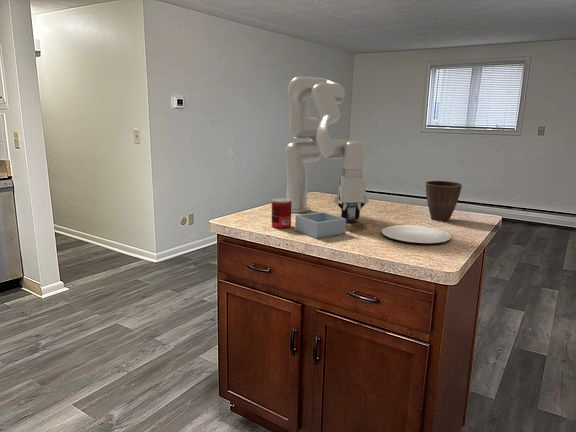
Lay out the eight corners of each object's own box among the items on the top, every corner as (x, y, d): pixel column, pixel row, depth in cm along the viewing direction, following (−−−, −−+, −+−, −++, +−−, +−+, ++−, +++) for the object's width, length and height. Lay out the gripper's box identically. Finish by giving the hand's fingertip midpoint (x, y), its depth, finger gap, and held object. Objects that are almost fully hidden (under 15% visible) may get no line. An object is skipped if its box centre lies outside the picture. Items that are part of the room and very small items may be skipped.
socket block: (334, 226, 179) (334, 220, 178) (351, 224, 183) (351, 218, 183) (348, 231, 171) (349, 225, 171) (366, 228, 176) (366, 222, 175)
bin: (295, 230, 171) (295, 215, 170) (323, 226, 178) (323, 211, 177) (316, 239, 160) (316, 222, 159) (345, 234, 167) (346, 218, 166)
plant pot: (458, 224, 186) (462, 187, 182) (421, 221, 190) (424, 184, 187) (457, 217, 200) (461, 182, 196) (423, 214, 204) (426, 180, 201)
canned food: (293, 225, 180) (294, 198, 177) (287, 229, 172) (287, 202, 170) (275, 223, 182) (276, 197, 180) (268, 227, 175) (268, 200, 172)
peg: (345, 228, 174) (346, 203, 172) (341, 225, 179) (342, 201, 177) (358, 228, 175) (359, 203, 173) (353, 225, 180) (355, 201, 178)
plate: (399, 225, 184) (399, 221, 183) (460, 237, 168) (460, 232, 168) (369, 237, 165) (369, 233, 164) (434, 251, 149) (435, 246, 149)
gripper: (334, 175, 167) (332, 222, 171) (376, 174, 171) (373, 221, 175) (329, 172, 174) (327, 217, 179) (369, 172, 178) (366, 216, 182)
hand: (350, 218), depth 177 cm, fingers closed on peg, 4 cm apart
